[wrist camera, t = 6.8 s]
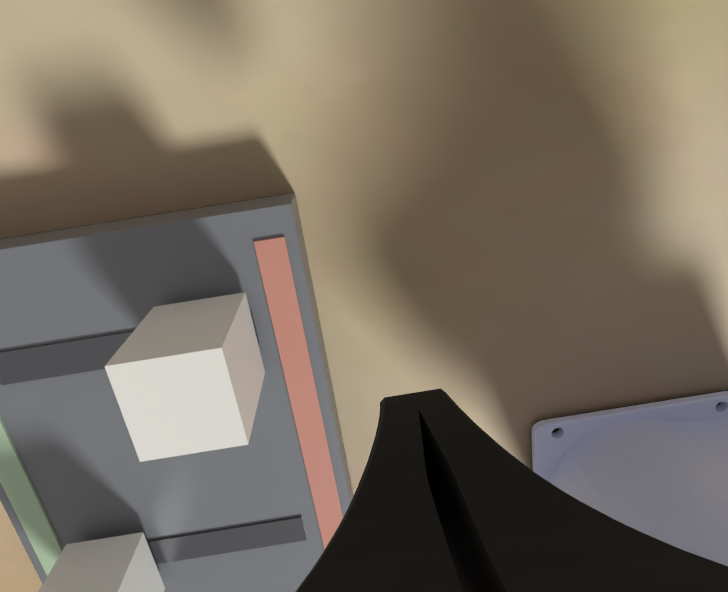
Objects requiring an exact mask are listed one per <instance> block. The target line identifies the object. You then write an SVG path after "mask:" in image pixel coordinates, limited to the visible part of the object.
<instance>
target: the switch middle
mask: <svg viewBox="0 0 728 592" xmlns="http://www.w3.org/2000/svg"><path fill="white" fill-rule="evenodd" d="M164 590H165V587H164V584H163V582H162V579H161V576H160V574H159V571H158V569H157V566H156V564H155V561H154V559H153V556H152V553H151V551H150V548H149V546H148V543H147V541H146V538H145V536H144V533H143V532H141V533H134V534H128V535H122V536H116V537H109V538H103V539H97V540H91V541H84V542H78V543H72V544H66V545H65V547H64V549H63V551H62V552H61V554H60V556H59V557H58V559H57V561H56V563H55V564H54V566H53V568H52V569H51V571H50V573H49V574H48V576H47V578H46V580H45V581H44V583H43V585H42V586H41V588H40V590H39V592H164Z"/></svg>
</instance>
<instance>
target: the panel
mask: <svg viewBox="0 0 728 592" xmlns="http://www.w3.org/2000/svg"><path fill="white" fill-rule="evenodd" d="M243 292H245V293H246V297H247V301H248V305H249V309H250V313H251V317H252V321H253V325H254V329H255V333H256V337H257V342H258V346H259V350H260V354H261V358H262V362H263V366H264V370H265V375H264V379H263V384H262V388H261V392H260V397H259V401H258V405H257V409H256V414H255V418H254V422H253V427H252V431H251V435H250V440H249V444H248V445H243V446H237V447H230V448H224V449H218V450H212V451H205V452H199V453H193V454H187V455H180V456H174V457H168V458H161V459H155V460H149V461H143V462H140V461H139V458H138V455H137V453H136V450H135V447H134V445H133V442H132V439H131V437H130V434H129V431H128V429H127V426H126V423H125V420H124V418H123V415H122V412H121V410H120V407H119V404H118V402H117V399H116V396H115V394H114V391H113V388H112V385H111V383H110V380H109V377H108V375H107V372H106V369H105V367H104V366H105V365H106V364H107V363H108V361H109V360H110V359H111V358H112V357H113V355H114V354H115V353H116V352H117V351H118V349H119V348H120V347H121V346H122V344H123V343H124V342H125V341H126V340H127V338H128V337H129V336H130V335H131V334H132V332H133V331H134V330H135V329H136V328H137V326H138V325H139V324H140V323H141V322H142V320H143V319H144V318H145V317H146V315H147V314H148V313H149V312H150V311H151V309H152V308H153V307H155V306H161V305H167V304H174V303H180V302H186V301H193V300H199V299H205V298H212V297H218V296H224V295H231V294H237V293H243ZM353 497H354V496H353V491H352V485H351V480H350V475H349V470H348V465H347V460H346V454H345V449H344V444H343V439H342V434H341V429H340V424H339V418H338V413H337V408H336V403H335V398H334V393H333V387H332V382H331V377H330V372H329V367H328V362H327V356H326V351H325V346H324V341H323V336H322V331H321V326H320V320H319V315H318V310H317V305H316V300H315V295H314V289H313V284H312V279H311V274H310V269H309V264H308V258H307V253H306V248H305V243H304V238H303V233H302V227H301V222H300V217H299V212H298V207H297V202H296V197H295V193H290V194H284V195H277V196H271V197H265V198H258V199H252V200H246V201H239V202H233V203H227V204H220V205H214V206H208V207H201V208H195V209H188V210H182V211H176V212H169V213H163V214H157V215H150V216H144V217H138V218H131V219H125V220H119V221H112V222H106V223H100V224H93V225H87V226H81V227H74V228H68V229H62V230H55V231H49V232H43V233H36V234H30V235H23V236H17V237H11V238H4V239H0V500H1V502H2V504H3V506H4V508H5V510H6V512H7V514H8V516H9V518H10V520H11V522H12V524H13V526H14V528H15V530H16V532H17V534H18V536H19V538H20V540H21V542H22V544H23V546H24V548H25V550H26V552H27V554H28V555H29V557H30V559H31V561H32V563H33V565H34V567H35V569H36V571H37V573H38V575H39V577H40V579H41V581H42V583H44V581H45V580H46V578H47V576H48V574H49V573H50V571H51V569H52V568H53V566H54V564H55V563H56V561H57V559H58V557H59V556H60V554H61V552H62V551H63V549H64V547H65V545H66V544H72V543H78V542H84V541H91V540H97V539H103V538H109V537H116V536H122V535H128V534H134V533H141V532H143V533H144V536H145V538H146V541H147V543H148V546H149V548H150V551H151V553H152V556H153V559H154V561H155V564H156V566H157V569H158V571H159V574H160V576H161V579H162V582H163V584H164V587H165V590H164V592H295V591H296V590H297V589H298V587H299V586H300V585H301V583H302V582H303V581H304V579H305V578H306V577H307V575H308V574H309V573H310V571H311V570H312V568H313V567H314V565H315V564H316V562H317V561H318V559H319V558H320V556H321V555H322V553H323V552H324V550H325V548H326V547H327V545H328V543H329V542H330V540H331V538H332V537H333V535H334V533H335V532H336V530H337V528H338V526H339V524H340V523H341V521H342V519H343V517H344V515H345V513H346V511H347V509H348V507H349V505H350V503H351V501H352V499H353Z"/></svg>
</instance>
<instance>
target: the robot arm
mask: <svg viewBox="0 0 728 592" xmlns="http://www.w3.org/2000/svg"><path fill="white" fill-rule="evenodd" d="M719 402H721V403H720V404H719V405H718V406H716V405H717V404H718V403H719ZM556 428H560V429H559V430H558V431H557V432H554V433H552V431H553V430H554V429H556ZM531 435H532V464H533V471H532V470H531V469H529V468H528V467H527V466H525V465H524V464H523V463H521V462H520V461H519V460H518V459H516V458H515V457H514V456H512V455H511V454H510V453H509V452H507V451H506V450H505V449H504V448H502V447H501V446H500V445H499V444H498V443H497V442H495V441H494V440H493V439H492V438H491V437H490V436H489V435H488V434H486V433H485V432H484V431H483V430H482V429H481V428H480V427H479V426H478V425H476V424H475V423H474V422H473V421H472V420H471V419H470V418H469V417H468V416H467V415H466V414H465V413H464V412H463V411H462V410H461V409H460V408H459V407H458V406H457V405H456V403H455V402H454V401H453V400H452V399H451V398H450V397H449V396H448V395H447V393H446V392H444V391H443V390H441V389H435V390H429V391H423V392H417V393H410V394H404V395H398V396H392V397H385V398H384V399H383V400H382V401H381V402H380V416H379V422H378V427H377V432H376V436H375V439H374V443H373V446H372V449H371V453H370V456H369V459H368V462H367V465H366V467H365V470H364V472H363V475H362V477H361V480H360V482H359V485H358V487H357V490H356V492H355V494H354V497H353V499H352V501H351V503H350V505H349V507H348V509H347V511H346V513H345V515H344V517H343V519H342V521H341V523H340V524H339V526H338V528H337V530H336V532H335V533H334V535H333V537H332V538H331V540H330V542H329V543H328V545H327V547H326V548H325V550H324V552H323V553H322V555H321V556H320V558H319V559H318V561H317V562H316V564H315V565H314V567H313V568H312V570H311V571H310V573H309V574H308V575H307V577H306V578H305V579H304V581H303V582H302V583H301V585H300V586H299V587H298V589H297V590H296V591H295V592H728V391H722V392H716V393H710V394H704V395H697V396H691V397H685V398H678V399H672V400H666V401H660V402H653V403H647V404H641V405H635V406H628V407H622V408H616V409H610V410H603V411H597V412H591V413H585V414H578V415H572V416H566V417H559V418H553V419H547V420H542V421H539V422H537V423H536V424H534V426H533V427H532V431H531Z"/></svg>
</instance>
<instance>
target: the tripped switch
mask: <svg viewBox="0 0 728 592" xmlns="http://www.w3.org/2000/svg"><path fill="white" fill-rule="evenodd" d="M104 367H105V369H106V372H107V375H108V377H109V380H110V383H111V385H112V388H113V391H114V394H115V396H116V399H117V402H118V404H119V407H120V410H121V412H122V415H123V418H124V420H125V423H126V426H127V429H128V431H129V434H130V437H131V439H132V442H133V445H134V447H135V450H136V453H137V455H138V458H139V461H140V462H143V461H149V460H155V459H161V458H168V457H174V456H180V455H187V454H193V453H199V452H205V451H212V450H218V449H224V448H230V447H237V446H243V445H248V444H249V440H250V435H251V431H252V427H253V422H254V418H255V414H256V409H257V405H258V401H259V397H260V392H261V388H262V384H263V379H264V375H265V370H264V366H263V362H262V358H261V354H260V350H259V346H258V342H257V337H256V333H255V329H254V325H253V321H252V317H251V313H250V309H249V305H248V301H247V297H246V293H245V292H243V293H237V294H231V295H224V296H218V297H212V298H205V299H199V300H193V301H186V302H180V303H174V304H167V305H161V306H155V307H153V308H152V309H151V311H150V312H149V313H148V314H147V315H146V317H145V318H144V319H143V320H142V322H141V323H140V324H139V325H138V326H137V328H136V329H135V330H134V331H133V332H132V334H131V335H130V336H129V337H128V338H127V340H126V341H125V342H124V343H123V344H122V346H121V347H120V348H119V349H118V351H117V352H116V353H115V354H114V355H113V357H112V358H111V359H110V360H109V361H108V363H107V364H106V365H105V366H104Z"/></svg>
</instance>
